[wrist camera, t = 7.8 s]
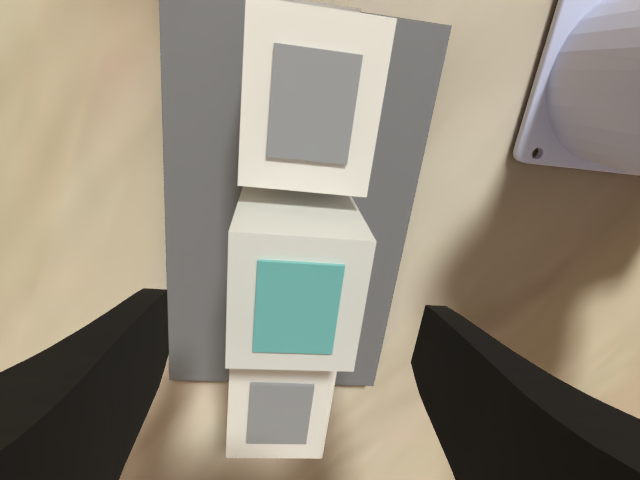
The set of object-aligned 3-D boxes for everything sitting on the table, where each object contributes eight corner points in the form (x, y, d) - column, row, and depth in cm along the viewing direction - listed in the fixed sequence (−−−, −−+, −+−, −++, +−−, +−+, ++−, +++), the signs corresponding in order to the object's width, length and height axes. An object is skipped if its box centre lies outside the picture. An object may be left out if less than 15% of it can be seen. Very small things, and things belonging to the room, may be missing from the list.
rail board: (442, 28, 17) (530, 5, 11) (369, 373, 23) (399, 474, 18) (166, -14, 15) (94, -66, 9) (174, 366, 22) (135, 474, 16)
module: (342, 181, 17) (377, 243, 11) (330, 275, 19) (354, 374, 13) (247, 173, 16) (227, 233, 10) (243, 270, 18) (224, 371, 12)
